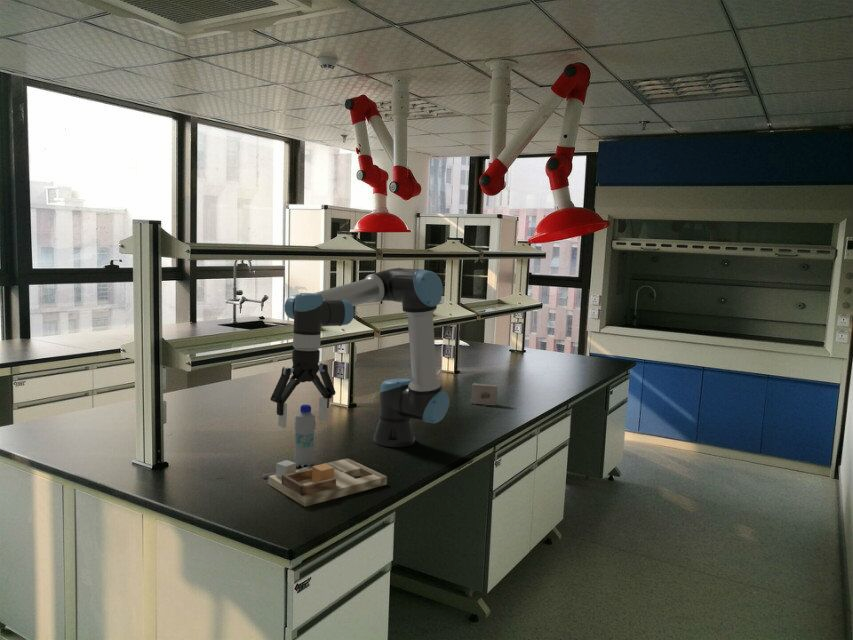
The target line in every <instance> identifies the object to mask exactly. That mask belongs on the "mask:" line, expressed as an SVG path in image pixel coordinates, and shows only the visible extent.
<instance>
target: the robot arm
mask: <svg viewBox="0 0 853 640" xmlns="http://www.w3.org/2000/svg"><path fill="white" fill-rule="evenodd" d="M443 295H444V286H443V282H442V279H441V278H440V276H439V275H438V274H437V273H435V272H434V271H432V270H427V269H421V268H420V269H418V268H403V267H396V268H389V269H385V270H382V271H377V272H374V273H371V274H368V275H365V278H364V279H361V280H357V281H354V282H350V283H345V284H343V285H339V286H334V287H331V288H327V289H324V290H321V291H318V292H314V293H313V292H312V293H311V292H298V293H297V294H294V295H293V294H291V296H289V297H288V298H287V299H286V300H285V302H284V312H285V315H286V316H287V318H289V319H291V320H293V334H292V335H293V336H292V347H293V349H292V350H291V351H292V353H291V355H292V357H291V361H292V367H288V366H282V369H281V373H280V377H279V379H278V381H277V383H276V385H275V387H274V390H273V392H272V395H271V396H270V401H271V402H274V403H276V415H277V416H278V421H277V422H278V423H277V426H278V427H281V428H284V429H285V428H287V417H288V415H287V414H288V404H287V403H286V401H287V400H288V399H289V397H290V396H291V394H293V392H294V390H295V389H296V387H297V386H298V385H300V384H301V383H306V382H308V383H309V382H312V384H313V385H314V386H315V388H316V389H317V390H318V391H319V393H320V394H321V396H319V405H318V420H321V421H324V422H327V415H328V414H327V413H328V409H329V407H330V399H332V398H333V396H335V395H336V393H337V392H336V390H335V387H334V384H333V382H332V379H331V376H330V374H329V367H328V364H325V363H320V359H321V358H320V356H321V351H320V350H319V349H320V348H321V335H322V334H321V333H322V327H342V326H347V325H349V324H350V323H352V321H353V319H354V318H355V317H354V316H355V308H354V307H355V306H359V305H362V304H366V303H368V302H373V303H378V302H382V301H383V302H384V301H388V302H389V301H390V302H395V303H396V302H397V303H401V306H402V312H404V314H406V315H407V327H408V341H409V353H410V368H411V378H393V379H392V378H390V379H386V380H384V381H382V382H381V385H380V391H379V417H378V418H379V419H378V422H377V425H376V429H375V431H374V434H373V442H374V443H375V444H377V445H379V446H381V447H382V446H383V447H387V448H404V447H410V446H412V445H414V444H415V440H416V436H415V433H414V427H413V425H412V419H413V420H418V421H421V422H423V423H430V424H438V423H439V422H441V421H442V420H443V419H444V417H445V416H446V414H447V413H448V410H449V407H450V396H449V394H448V393H447V392H446V391H444V390H443V387H442V381H440V380H439V379H438V375H437V361H436V348H435V329H434V328H435V326H434V315H433V314H434V313H435V311H437V308H438V305H439V304H440V303H441V301H442V300H443V299H442V297H443ZM318 372H319V374H320V377H321V379H320V377H319V375H318ZM321 380H322V381H321Z"/></svg>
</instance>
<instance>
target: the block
mask: <svg viewBox="0 0 853 640" xmlns="http://www.w3.org/2000/svg"><path fill="white" fill-rule="evenodd" d="M275 465H276V467H275V468H276V469H275V472H276V477H279V478H282V475H286V474H290V473H294V472H296V470H297V466H296V463H295V462H294V461H291V460H288V459H285V460H282V461H279V462H277V463H276V464H275Z"/></svg>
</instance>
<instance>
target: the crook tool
mask: <svg viewBox="0 0 853 640" xmlns="http://www.w3.org/2000/svg"><path fill="white" fill-rule="evenodd" d="M271 475H276V471H272V472H267V473H262V474H261V478H262V479H264V480H266V479H269V476H271Z"/></svg>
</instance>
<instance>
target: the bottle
mask: <svg viewBox="0 0 853 640" xmlns="http://www.w3.org/2000/svg"><path fill="white" fill-rule="evenodd" d="M299 410H300V412H298V413H296V414H295V418H294V427H293V428H294V431H295V433H294V434H295V435H294V453H293V462H295V463H296V468H300V467H301V469H302V468H305V467H310V466H314V465H313V464H314V462H315V461H314V459H315V450H314V449H315V447H314V443H315V430H316V426H317V425H316V415H315V414H314V413H312V406H311V404H302V405H300V408H299Z"/></svg>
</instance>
